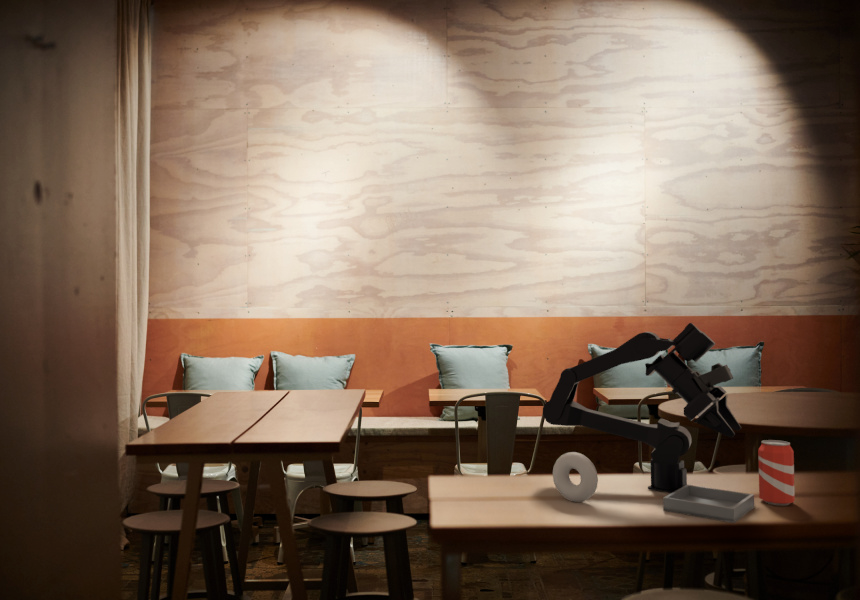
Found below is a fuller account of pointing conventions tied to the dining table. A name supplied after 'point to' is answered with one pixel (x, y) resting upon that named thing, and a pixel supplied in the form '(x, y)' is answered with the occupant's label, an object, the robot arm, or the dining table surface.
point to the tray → (709, 503)
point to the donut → (586, 472)
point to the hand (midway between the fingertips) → (736, 432)
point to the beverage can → (776, 472)
